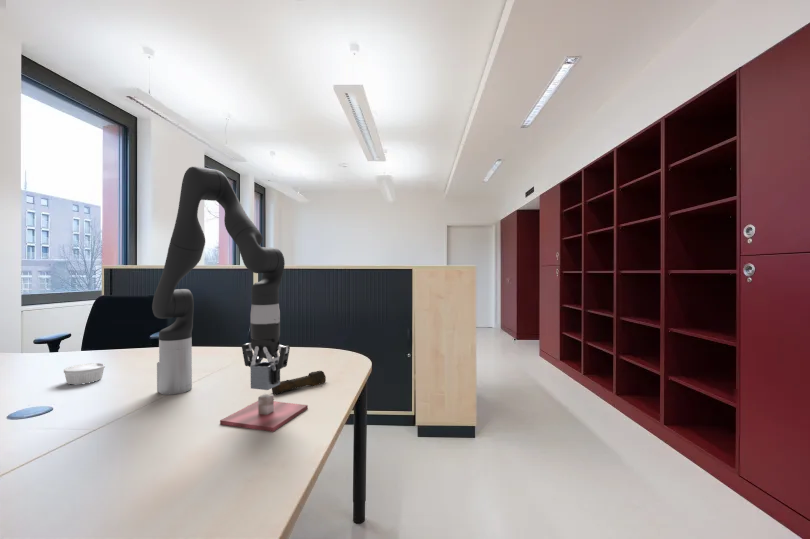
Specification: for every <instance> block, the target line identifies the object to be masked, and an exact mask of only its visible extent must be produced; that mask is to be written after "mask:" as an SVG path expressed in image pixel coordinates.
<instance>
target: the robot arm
mask: <svg viewBox="0 0 810 539" xmlns="http://www.w3.org/2000/svg"><path fill="white" fill-rule="evenodd" d="M201 201H213V202H217V203H218V204H219V205H220V206H221V207H222V208H223V210H224V227H225V230H226V231H227V233H228V235H229V236H230V237H231V239H232V240H233V241H234V243H235V245H236V246H237V248H238V251H239V254H240V256H241V257H240V258H241V260H242V263H243V265H244V266H245V268H246V269H247V270H248V271H249V272H252V273H254V274H262V276H261V280H259V281H258V282H255V283H254V284H252V286H251V292H250V293H251V309H250V339H251V342H247V343H244V344H242V345H241V350H242V351H241V352H242V356H243V362H244V366H245V367H249V368H250V369H251V366H252V365H256V364H257V363H261V362H262V361H263V359H266V360H267V362H268V363H270V365H271V368H272V370H273V371H272V384H273V385H275V384H277V383H278V382H279V381H280V382H281V369H284V368H286V367H288V366H287V365H288V361H289V360H288V359H289V355H290V350H291V349H290V348H291V347H290V345H282V344H281V343H280V337H281V311H280V300H279V299H280V294H279V293H280V291H279V290H280V286H281V282H282V278H283V275H284V270H285V264H286V263H285V256H284V255H283V252H282V251H281V249H279V248H277V247H268V246H267V247H266V246H265V247H264V246H261V244H262V243H263V239H264V238H263V235H262V233H261V232H260V230H259V229H258V227H257V226H256V225H255V224H254V223H253V221H252V219H250V217H249V216H248V215H247V213H246V211H245V210H244V207H243V206H242V204H241V202H240V200H239V198H238V196H237V194H236V192H235V190H234V188H233V186H232V184H231V182H230V181H229V179H228V177H227V176H226V174H225V173H223V172H222V171H220V170H218V169H214V168H213V169H212V168H208V167H201V166H190V167H188V168H187V170H186V171H185V172H184V174H183V177H182V182H181V188H180V194H179V203H178V209H177V213H176V218H175V223H174V227H173V231H172V234H171V237H170V241H169V245H168V249H167V253H166V259H165V262H164V267H163V269H162V270H163V271H162V273H161V276H160V279H159V282H158V284H157V287H156V290H155V292H154V294H153V299H152V304H151V308H152V313H153V314H152V315H154V317H155V318H157V319H161V320H162V319H173V318H176V319H175V321H174V322H173V323H171V325H169V326H167V327H165V328H162V329H161V330H159V332H158V356H159V357H158V358H159V359H158V362H156V392H158V393H159V394H160V395H166V396H168V395H170V396H171V395H178V394H182V393H186V392H188V391H190V390H192V388H193V378H192V377H193V365H192V364H193V351H192V350H193V344H192V339H193V338H192V332H193V328H194V308H195V307H194V306H195V305H194V304H195V301H194V296H193V293H192V292H191V290H190V289H188V288H180V289H179V288H177V286H178V285H179V283H180V282H181V280H183V278H185V276H187V275H188V274H189V273H190V272H191V271H192V270H193V269H194V268H195V267H197V265H198V264H199V263H200V261H201V260H202V255H203V253H204V249H205V245H206V237H205V234H204V231H203V228H202V226H201V224H200V222H199V218H198V217H199V216H198V214H199V213H198V212H199V206H200V203H201ZM176 288H177V289H176Z"/></svg>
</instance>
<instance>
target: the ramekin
mask: <svg viewBox="0 0 810 539" xmlns="http://www.w3.org/2000/svg"><path fill="white" fill-rule="evenodd" d="M105 367H106V365H105V364H104V363H100V362H91V363H82V364H75V365H73V366H72V365H71V366H68V367H66V368H64V369H63V374H64V376H65V381H66V383H67V384H68V385H69V384H82V383H89V382H93V381H97V380H99V379H100V380H102V378H103V375H104V370H105ZM100 380H99V381H100ZM97 382H98V381H97ZM89 384H90V383H89Z"/></svg>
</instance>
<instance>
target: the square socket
mask: <svg viewBox="0 0 810 539" xmlns="http://www.w3.org/2000/svg"><path fill="white" fill-rule="evenodd" d="M272 371H273V370H272V368H271V365H270V363H268V361H266V360H265V361H264V360H262V361H261V363H257V364H256V365H252V366H251V368H250V389H253V390H262V391H263V390H264V391H269V390H272V388H274V387H276V386H278V385H280V382H281V380H280V381H279V382H278V383H277V384H275V385H273V384H272Z"/></svg>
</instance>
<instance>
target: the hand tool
mask: <svg viewBox="0 0 810 539" xmlns="http://www.w3.org/2000/svg"><path fill="white" fill-rule="evenodd" d="M326 380H327V377H326V375H325V373H324V371H323V370H317V371H311V372H309V373H308V374H307V375H304V376H300V377H297V378H291V379H286V380H280V385H278V386H276V387H274V388H271V392H272V394H273V395H275V394H276V395H278V394H282V393H284V392H288V391H291V390H295V389H300V388H303V387H307V386H309V387H315V385H316V386H319V385H322V384H324V383H325V382H326Z"/></svg>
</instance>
